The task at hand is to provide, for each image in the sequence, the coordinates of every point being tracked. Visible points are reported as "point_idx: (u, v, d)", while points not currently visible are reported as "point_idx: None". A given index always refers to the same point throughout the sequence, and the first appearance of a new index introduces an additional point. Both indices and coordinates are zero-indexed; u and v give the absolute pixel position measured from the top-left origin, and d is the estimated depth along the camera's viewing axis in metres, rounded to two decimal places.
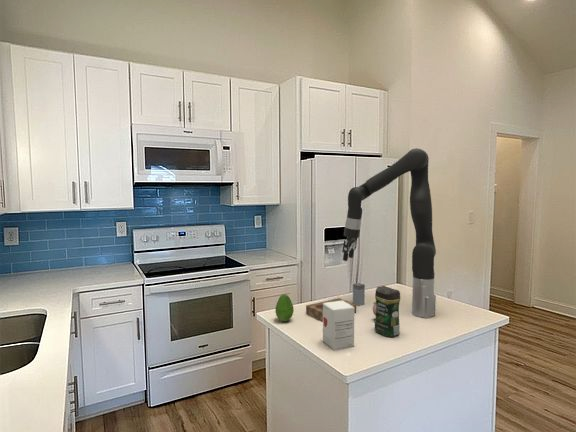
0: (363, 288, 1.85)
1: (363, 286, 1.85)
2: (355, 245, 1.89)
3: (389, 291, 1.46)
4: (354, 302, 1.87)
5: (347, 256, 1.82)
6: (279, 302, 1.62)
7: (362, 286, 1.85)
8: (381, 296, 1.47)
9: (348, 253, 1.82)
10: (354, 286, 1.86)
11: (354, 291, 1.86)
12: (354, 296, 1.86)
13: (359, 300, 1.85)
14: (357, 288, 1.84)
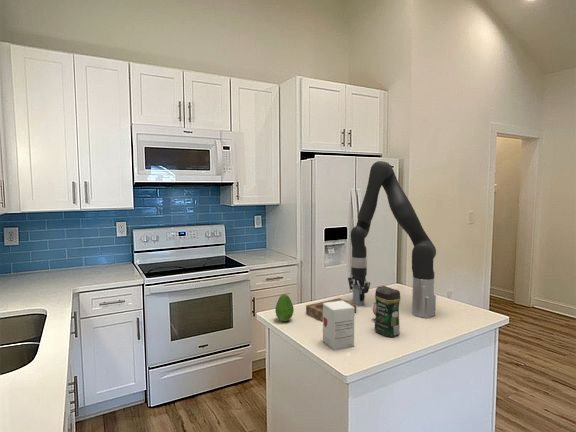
0: None
1: None
2: None
3: (389, 291, 1.46)
4: (354, 302, 1.87)
5: None
6: (279, 302, 1.62)
7: (362, 286, 1.85)
8: (381, 295, 1.47)
9: None
10: (354, 286, 1.86)
11: (354, 291, 1.86)
12: (354, 296, 1.86)
13: (359, 300, 1.85)
14: (357, 288, 1.84)
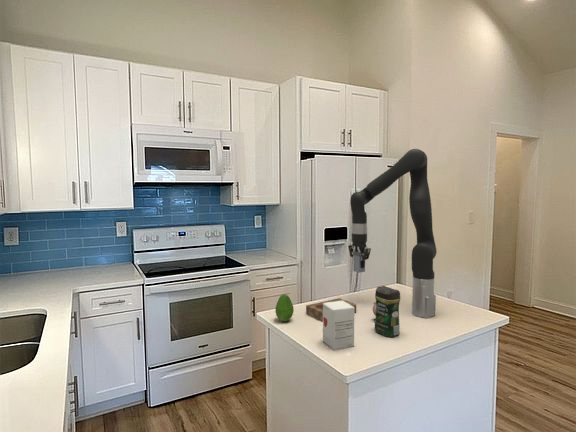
0: None
1: (363, 253, 1.84)
2: None
3: (389, 291, 1.46)
4: (354, 269, 1.85)
5: None
6: (279, 302, 1.62)
7: (362, 253, 1.83)
8: (381, 296, 1.47)
9: None
10: (354, 253, 1.85)
11: (354, 258, 1.85)
12: (354, 263, 1.85)
13: (360, 267, 1.83)
14: (357, 255, 1.83)
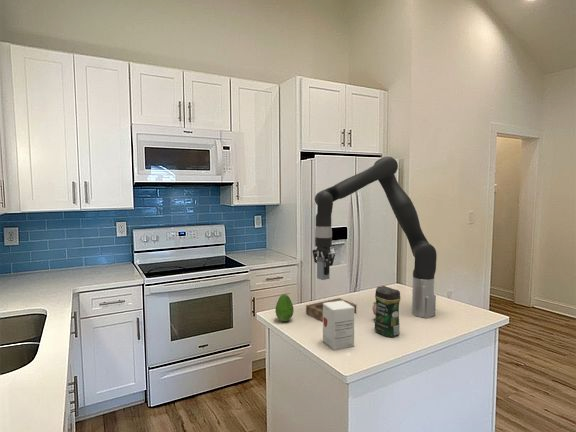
0: None
1: None
2: None
3: (389, 291, 1.46)
4: (318, 276, 1.69)
5: (328, 269, 1.68)
6: (279, 302, 1.62)
7: (327, 258, 1.68)
8: (381, 295, 1.47)
9: None
10: (318, 258, 1.69)
11: (318, 264, 1.69)
12: (318, 269, 1.69)
13: None
14: (321, 260, 1.67)
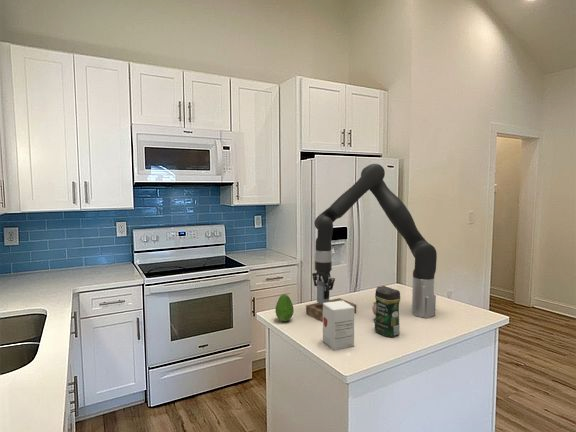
0: None
1: None
2: None
3: (389, 291, 1.46)
4: (318, 300, 1.70)
5: None
6: (279, 302, 1.62)
7: None
8: (381, 295, 1.47)
9: None
10: (318, 282, 1.70)
11: (318, 288, 1.70)
12: (318, 293, 1.70)
13: None
14: (321, 284, 1.68)
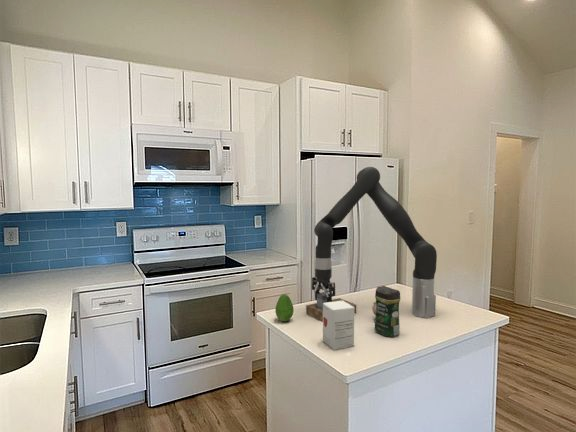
0: None
1: None
2: None
3: (389, 291, 1.46)
4: None
5: None
6: (279, 302, 1.62)
7: (326, 296, 1.69)
8: (381, 295, 1.47)
9: None
10: (318, 296, 1.70)
11: (318, 301, 1.70)
12: (318, 307, 1.70)
13: None
14: (321, 298, 1.68)
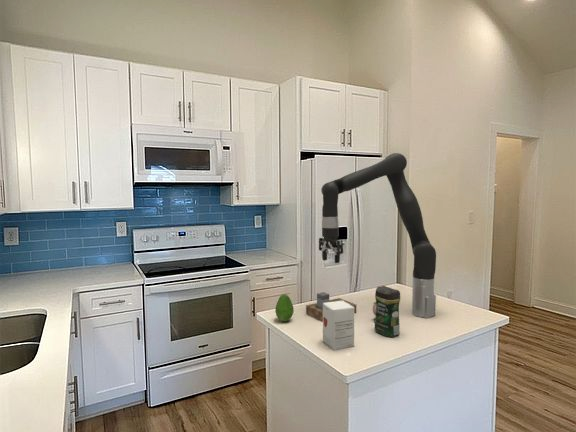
0: (328, 298, 1.69)
1: (327, 296, 1.69)
2: None
3: (389, 291, 1.46)
4: None
5: None
6: (279, 302, 1.62)
7: (326, 296, 1.69)
8: (381, 296, 1.47)
9: None
10: (318, 296, 1.70)
11: (318, 301, 1.70)
12: (318, 307, 1.70)
13: None
14: (321, 298, 1.68)
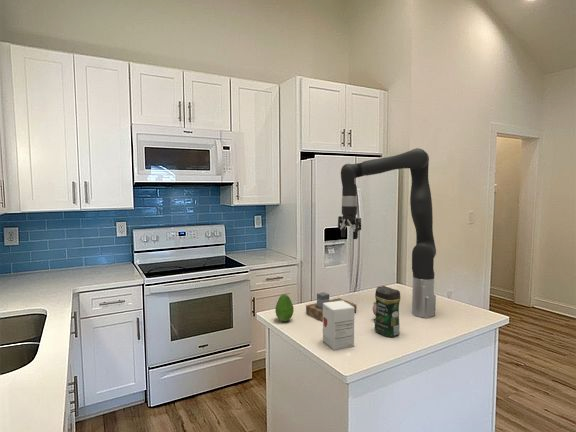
0: (327, 298, 1.69)
1: (327, 296, 1.69)
2: None
3: (389, 291, 1.46)
4: None
5: None
6: (279, 302, 1.62)
7: (326, 296, 1.69)
8: (381, 295, 1.47)
9: None
10: (318, 296, 1.70)
11: (318, 301, 1.70)
12: (318, 307, 1.70)
13: None
14: (321, 298, 1.68)
